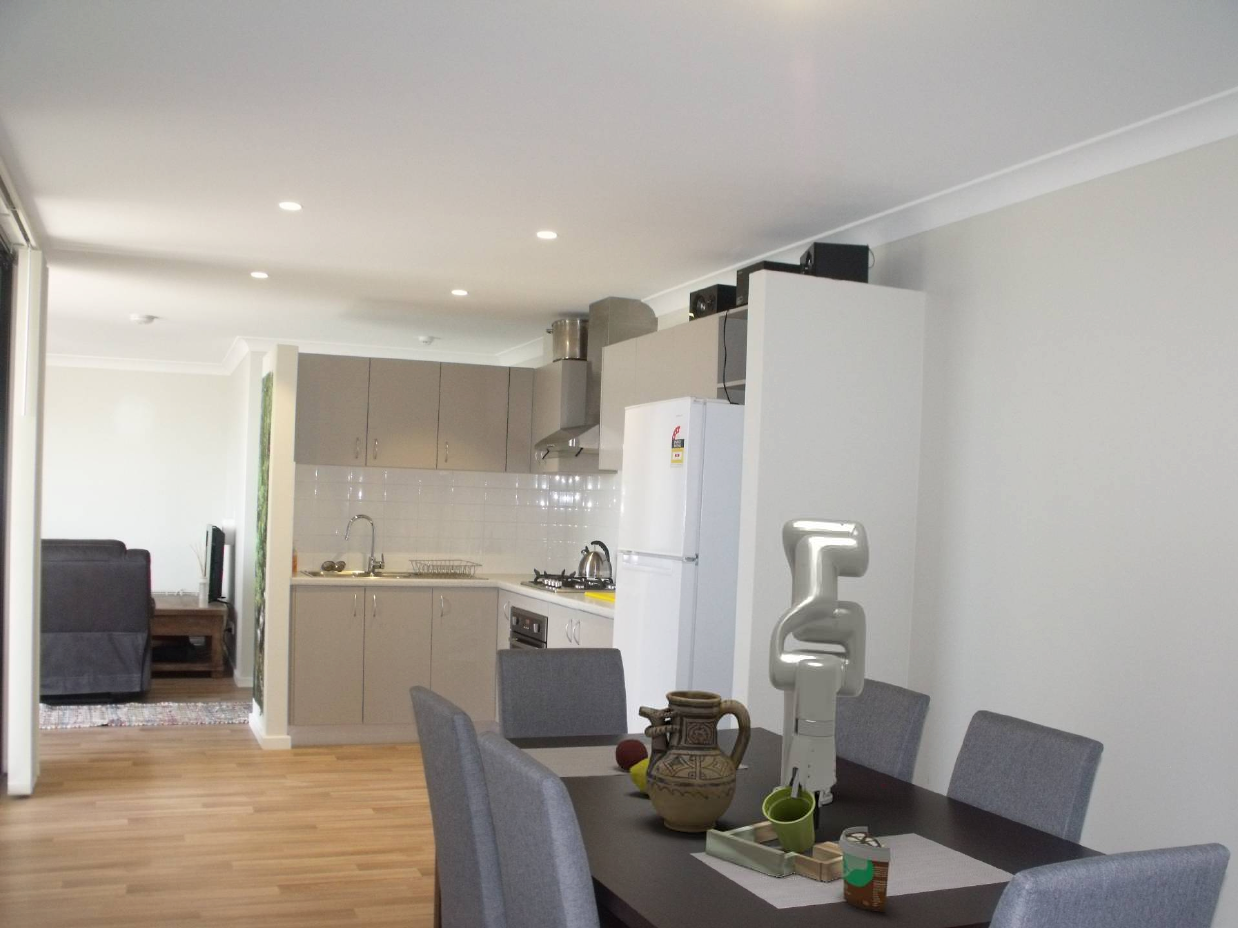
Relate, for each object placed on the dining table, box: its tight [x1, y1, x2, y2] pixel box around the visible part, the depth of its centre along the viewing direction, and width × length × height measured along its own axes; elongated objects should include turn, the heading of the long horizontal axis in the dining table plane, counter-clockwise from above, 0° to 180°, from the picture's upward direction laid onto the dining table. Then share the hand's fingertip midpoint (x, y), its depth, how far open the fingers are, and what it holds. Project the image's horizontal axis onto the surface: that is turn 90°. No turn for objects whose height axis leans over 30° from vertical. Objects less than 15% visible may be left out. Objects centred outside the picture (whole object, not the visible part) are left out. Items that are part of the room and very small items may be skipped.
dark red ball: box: [614, 738, 649, 772], centre depth 258 cm, size 7×8×7 cm
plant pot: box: [762, 787, 816, 854], centre depth 201 cm, size 9×9×9 cm
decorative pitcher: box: [638, 690, 752, 834], centre depth 214 cm, size 22×18×25 cm
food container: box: [838, 826, 892, 912], centre depth 177 cm, size 12×6×10 cm, turn 5°
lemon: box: [629, 757, 650, 795], centre depth 236 cm, size 11×8×8 cm
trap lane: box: [705, 820, 886, 882], centre depth 199 cm, size 26×22×4 cm
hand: (809, 827), depth 205 cm, fingers closed
